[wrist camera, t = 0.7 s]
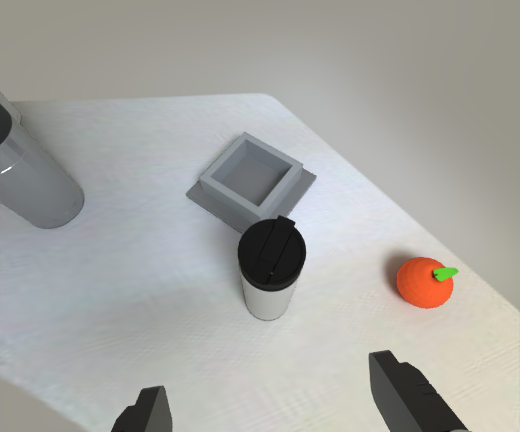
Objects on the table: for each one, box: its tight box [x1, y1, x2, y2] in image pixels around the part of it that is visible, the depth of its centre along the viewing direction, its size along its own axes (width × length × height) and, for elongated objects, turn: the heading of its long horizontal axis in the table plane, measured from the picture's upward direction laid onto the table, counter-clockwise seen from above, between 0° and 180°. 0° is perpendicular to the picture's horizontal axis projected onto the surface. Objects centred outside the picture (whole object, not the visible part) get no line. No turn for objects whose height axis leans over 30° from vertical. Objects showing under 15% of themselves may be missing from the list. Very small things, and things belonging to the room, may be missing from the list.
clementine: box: [396, 257, 458, 309], centre depth 42 cm, size 8×7×7 cm
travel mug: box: [238, 215, 306, 321], centre depth 36 cm, size 6×7×20 cm
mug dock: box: [186, 132, 316, 234], centre depth 51 cm, size 16×16×5 cm
